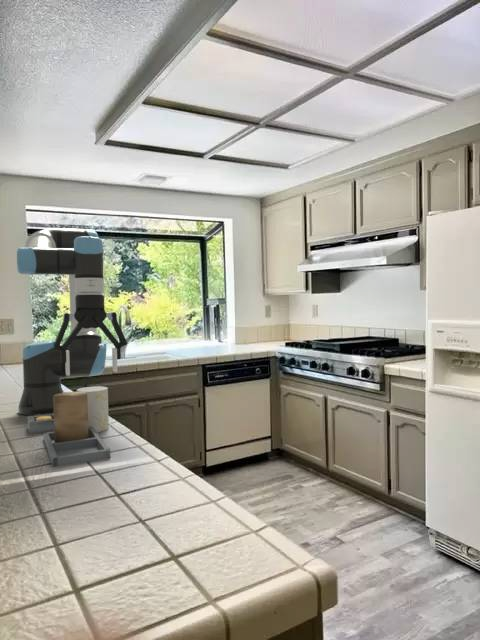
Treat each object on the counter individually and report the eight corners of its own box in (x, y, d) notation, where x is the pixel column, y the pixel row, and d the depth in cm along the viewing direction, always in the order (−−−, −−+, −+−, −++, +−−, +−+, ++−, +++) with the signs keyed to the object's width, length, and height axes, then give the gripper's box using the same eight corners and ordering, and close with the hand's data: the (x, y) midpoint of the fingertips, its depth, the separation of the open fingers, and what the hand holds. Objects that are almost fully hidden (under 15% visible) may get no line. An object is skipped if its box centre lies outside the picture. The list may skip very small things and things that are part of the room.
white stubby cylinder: (99, 436, 126) (98, 392, 126) (72, 435, 128) (70, 391, 127) (113, 428, 134) (112, 386, 134) (87, 427, 136) (86, 386, 135)
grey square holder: (27, 430, 133) (27, 416, 133) (58, 427, 137) (57, 413, 137) (29, 437, 126) (29, 422, 126) (61, 433, 130) (61, 419, 130)
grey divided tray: (44, 443, 121) (43, 433, 121) (92, 436, 126) (92, 426, 126) (52, 470, 100) (52, 458, 100) (110, 461, 106) (110, 449, 106)
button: (36, 427, 133) (35, 417, 132) (51, 426, 134) (51, 415, 134) (37, 431, 129) (36, 420, 129) (52, 429, 131) (52, 418, 131)
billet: (53, 440, 120) (51, 393, 120) (85, 436, 124) (84, 390, 123) (56, 449, 113) (55, 399, 113) (91, 444, 117) (89, 395, 116)
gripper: (43, 294, 121) (45, 378, 122) (137, 293, 132) (138, 371, 132) (41, 294, 128) (43, 375, 128) (130, 294, 138) (132, 368, 139)
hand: (91, 373), depth 130 cm, fingers open, 12 cm apart
